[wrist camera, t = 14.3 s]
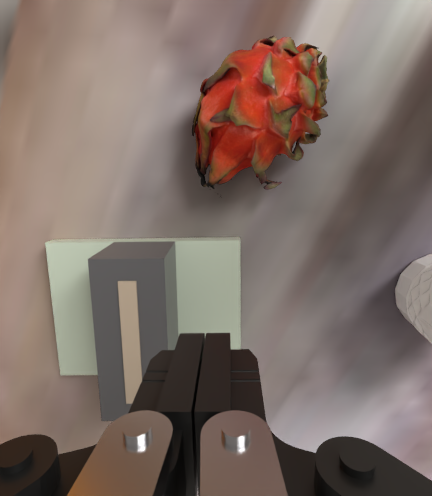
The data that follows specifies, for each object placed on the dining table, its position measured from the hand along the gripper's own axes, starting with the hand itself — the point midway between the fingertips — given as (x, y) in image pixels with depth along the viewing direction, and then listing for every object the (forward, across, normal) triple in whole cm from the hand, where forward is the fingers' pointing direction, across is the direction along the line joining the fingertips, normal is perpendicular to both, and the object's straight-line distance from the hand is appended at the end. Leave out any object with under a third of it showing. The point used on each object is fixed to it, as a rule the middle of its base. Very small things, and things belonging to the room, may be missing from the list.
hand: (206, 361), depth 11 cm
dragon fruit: (+21, -3, -9) cm, 23 cm away
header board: (+20, +7, +6) cm, 22 cm away
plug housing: (+18, +6, +6) cm, 20 cm away
